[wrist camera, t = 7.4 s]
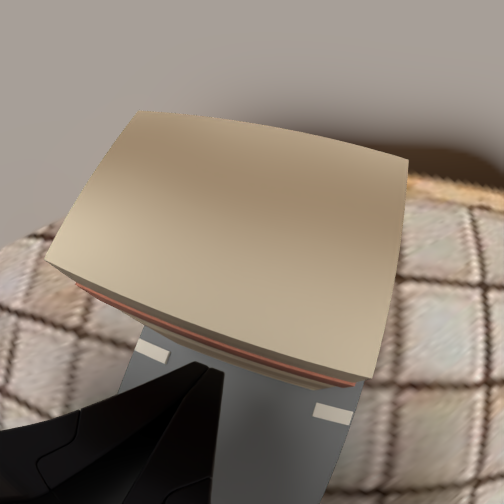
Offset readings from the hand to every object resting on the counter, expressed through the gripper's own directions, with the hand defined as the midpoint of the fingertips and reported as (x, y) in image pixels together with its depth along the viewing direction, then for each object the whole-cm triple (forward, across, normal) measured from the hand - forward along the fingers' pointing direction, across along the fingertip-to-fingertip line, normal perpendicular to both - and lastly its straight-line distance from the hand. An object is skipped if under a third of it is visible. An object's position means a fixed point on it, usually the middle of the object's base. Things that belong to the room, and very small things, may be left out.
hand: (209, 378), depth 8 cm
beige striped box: (+6, 0, +2) cm, 6 cm away
